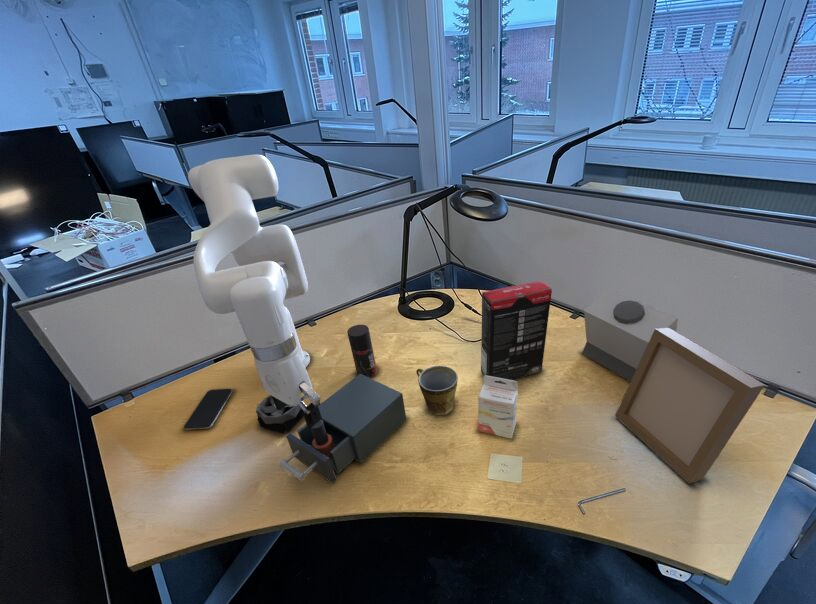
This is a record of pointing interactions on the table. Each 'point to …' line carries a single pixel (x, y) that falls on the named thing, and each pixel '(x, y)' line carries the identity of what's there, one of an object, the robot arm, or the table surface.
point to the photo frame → (685, 402)
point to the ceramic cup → (438, 388)
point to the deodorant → (362, 350)
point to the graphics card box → (514, 330)
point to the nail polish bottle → (322, 439)
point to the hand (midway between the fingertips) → (299, 414)
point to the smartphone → (208, 409)
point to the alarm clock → (621, 331)
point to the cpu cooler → (278, 416)
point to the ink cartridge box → (497, 406)
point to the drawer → (314, 458)
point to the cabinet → (364, 413)
